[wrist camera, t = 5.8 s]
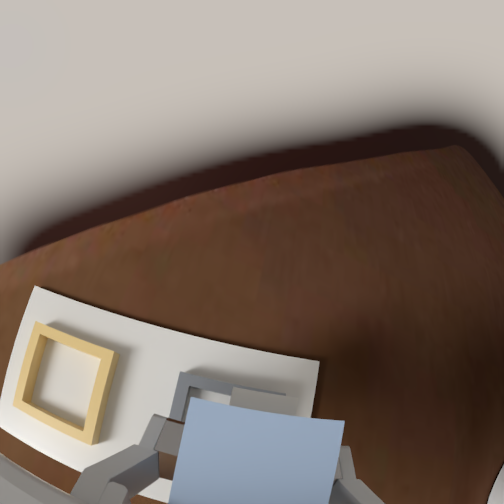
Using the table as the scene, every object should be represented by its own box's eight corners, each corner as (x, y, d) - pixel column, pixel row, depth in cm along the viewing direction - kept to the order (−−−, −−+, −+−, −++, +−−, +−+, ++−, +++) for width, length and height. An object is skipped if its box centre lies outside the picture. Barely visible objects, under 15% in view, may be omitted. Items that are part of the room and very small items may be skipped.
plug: (289, 404, 14) (347, 399, 7) (272, 487, 12) (315, 549, 5) (210, 389, 14) (196, 374, 7) (192, 473, 12) (162, 529, 5)
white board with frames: (317, 362, 23) (325, 358, 21) (285, 519, 17) (292, 528, 15) (37, 288, 22) (27, 279, 21) (-1, 424, 16) (-14, 423, 15)
